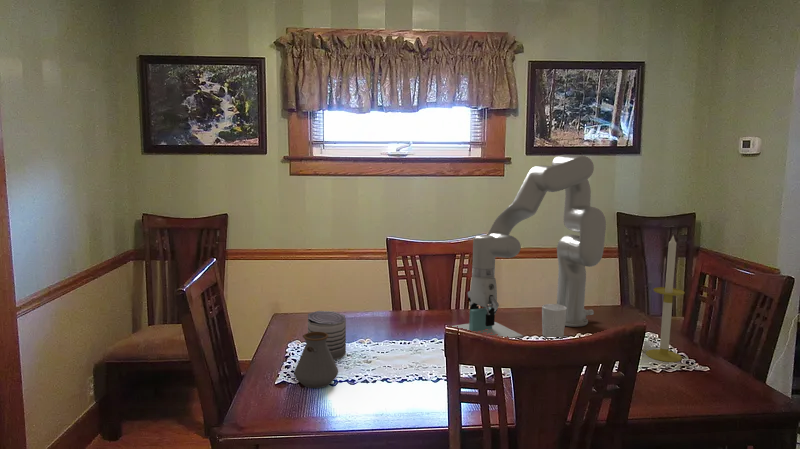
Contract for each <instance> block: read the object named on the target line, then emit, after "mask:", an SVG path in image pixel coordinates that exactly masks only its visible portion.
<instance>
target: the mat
mask: <svg viewBox="0 0 800 449" xmlns="http://www.w3.org/2000/svg"><path fill="white" fill-rule="evenodd" d="M451 326H452V327H457V326H458V328H463V329H467V330H469V323H463V324H457V325H456V324H455V325H451ZM479 331H481V332H480V333H483V332H487V334H488V333H491V332H492V333H493V334H490V335H495V334H498V335H497V336H503V337H507V336H508V337H509V338H515V339H518V338H517V337H521V338H524V335H523V334H521V333H519V332H518V331H515V330H513V329H510V328H509V327H507V326H505V325H503V324H501V323H498V322H496V321H494V325H493V326H492V329H488V330H484V331H483V330H479ZM476 332H478V331H476Z"/></svg>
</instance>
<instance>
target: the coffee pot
mask: <svg viewBox="0 0 800 449" xmlns="http://www.w3.org/2000/svg"><path fill="white" fill-rule="evenodd" d="M302 338H303V339H304V340H305V343H306V344H305V346H304V347H303V350H302V353H301V355H300V357H299V359H298V362H297V364H296V367H295V370H294V373H293V374H294V376H295V378H296V380H297V381H298V382H299V383H300V384H302V386H304V387H306V388H311V389H318V388H319V389H320V388H324V387H327V386H329V385H331V384H332V382H334V380H335V379H336V378H337V376H338V373H339V369H338V366H337V364H336V362H335V360H334V359H333V357H332V355H331V353H330V350H329V348H328V346H327V344H326V340H327V338H328V334H327V333H325V332H310V333H308V332H306V333H304V334H303V335H302Z"/></svg>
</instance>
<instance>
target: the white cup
mask: <svg viewBox="0 0 800 449" xmlns="http://www.w3.org/2000/svg"><path fill="white" fill-rule="evenodd" d="M566 310H567V308H566V307H565V306H563V305H558V304H557V303H545V304H543V305H542V306H541V323H542V324H541V326H542V327H541V329H542V336H543V337H544V336H545V337H544V338H546V337H561V339H563V338H564V337H565V335H564V333H565V327H566V326H565V320H566ZM551 340H559V339H558V338H555V339H553V338H552V339H551Z"/></svg>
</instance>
